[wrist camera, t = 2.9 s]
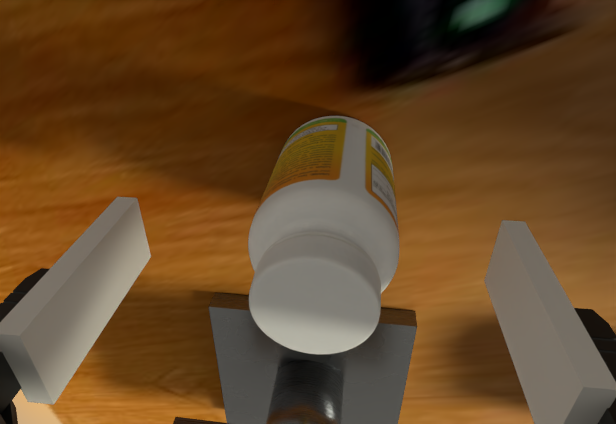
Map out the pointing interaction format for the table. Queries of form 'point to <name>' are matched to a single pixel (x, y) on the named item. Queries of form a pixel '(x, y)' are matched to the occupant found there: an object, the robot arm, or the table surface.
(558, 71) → the table surface
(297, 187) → the supplement bottle
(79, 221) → the table surface
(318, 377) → the stand
